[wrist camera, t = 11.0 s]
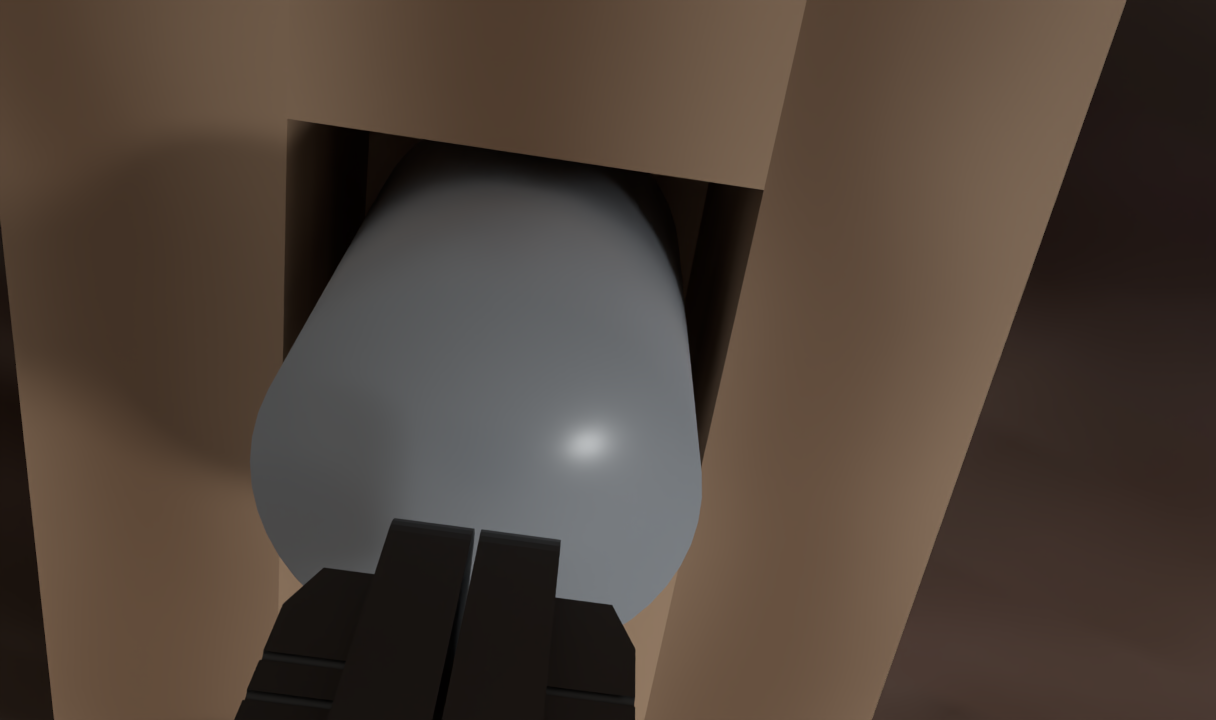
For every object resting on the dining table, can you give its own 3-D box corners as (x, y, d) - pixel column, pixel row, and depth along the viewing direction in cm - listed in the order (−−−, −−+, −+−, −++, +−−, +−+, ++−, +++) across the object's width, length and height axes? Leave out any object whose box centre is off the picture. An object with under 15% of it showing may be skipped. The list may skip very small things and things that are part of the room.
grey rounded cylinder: (705, 134, 16) (743, 323, 11) (650, 413, 18) (660, 685, 13) (378, 84, 16) (251, 253, 10) (361, 373, 18) (249, 634, 13)
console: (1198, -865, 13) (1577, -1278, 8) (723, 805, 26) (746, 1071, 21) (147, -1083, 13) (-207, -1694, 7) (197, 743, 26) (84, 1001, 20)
